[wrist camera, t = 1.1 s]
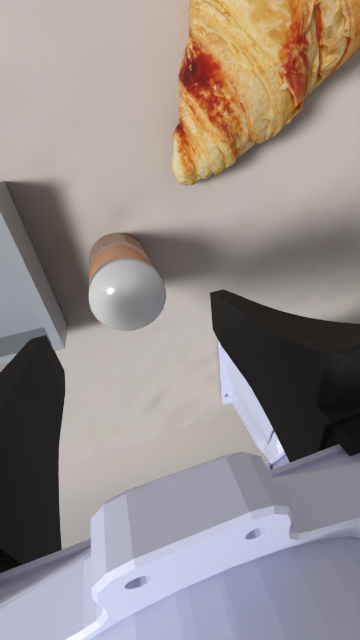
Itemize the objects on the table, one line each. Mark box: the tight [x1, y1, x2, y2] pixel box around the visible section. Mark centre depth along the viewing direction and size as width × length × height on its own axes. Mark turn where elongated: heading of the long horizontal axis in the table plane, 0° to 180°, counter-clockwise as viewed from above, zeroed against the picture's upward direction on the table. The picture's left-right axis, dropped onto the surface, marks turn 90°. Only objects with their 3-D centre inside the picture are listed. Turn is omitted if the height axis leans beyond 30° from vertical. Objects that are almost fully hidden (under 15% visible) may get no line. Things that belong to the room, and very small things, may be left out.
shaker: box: [89, 233, 166, 331], centre depth 17 cm, size 4×4×6 cm
